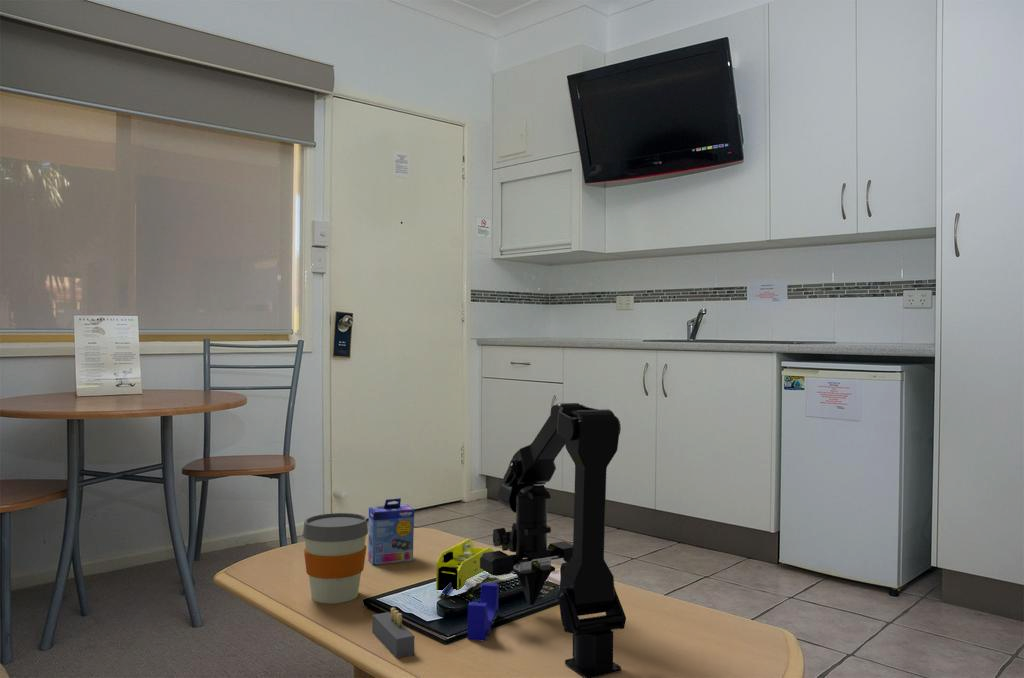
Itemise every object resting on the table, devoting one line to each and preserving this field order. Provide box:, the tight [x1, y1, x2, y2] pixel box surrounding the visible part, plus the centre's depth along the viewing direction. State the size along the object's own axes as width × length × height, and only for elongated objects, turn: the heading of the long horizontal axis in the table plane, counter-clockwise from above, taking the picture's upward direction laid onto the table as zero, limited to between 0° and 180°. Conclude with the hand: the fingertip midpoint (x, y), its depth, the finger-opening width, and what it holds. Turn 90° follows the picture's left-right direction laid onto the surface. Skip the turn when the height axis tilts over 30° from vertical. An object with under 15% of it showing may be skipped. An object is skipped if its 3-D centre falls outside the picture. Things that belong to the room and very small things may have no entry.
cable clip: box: [466, 582, 500, 642], centre depth 131 cm, size 12×4×6 cm, turn 170°
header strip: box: [371, 607, 415, 659], centre depth 123 cm, size 12×3×5 cm, turn 29°
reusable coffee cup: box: [302, 512, 369, 604], centre depth 146 cm, size 13×13×15 cm
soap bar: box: [547, 567, 561, 585], centre depth 155 cm, size 5×9×2 cm, turn 34°
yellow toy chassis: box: [435, 537, 494, 591], centre depth 153 cm, size 16×6×8 cm, turn 156°
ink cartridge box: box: [367, 497, 415, 566], centre depth 171 cm, size 10×6×14 cm, turn 115°
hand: (530, 604), depth 137 cm, fingers closed
